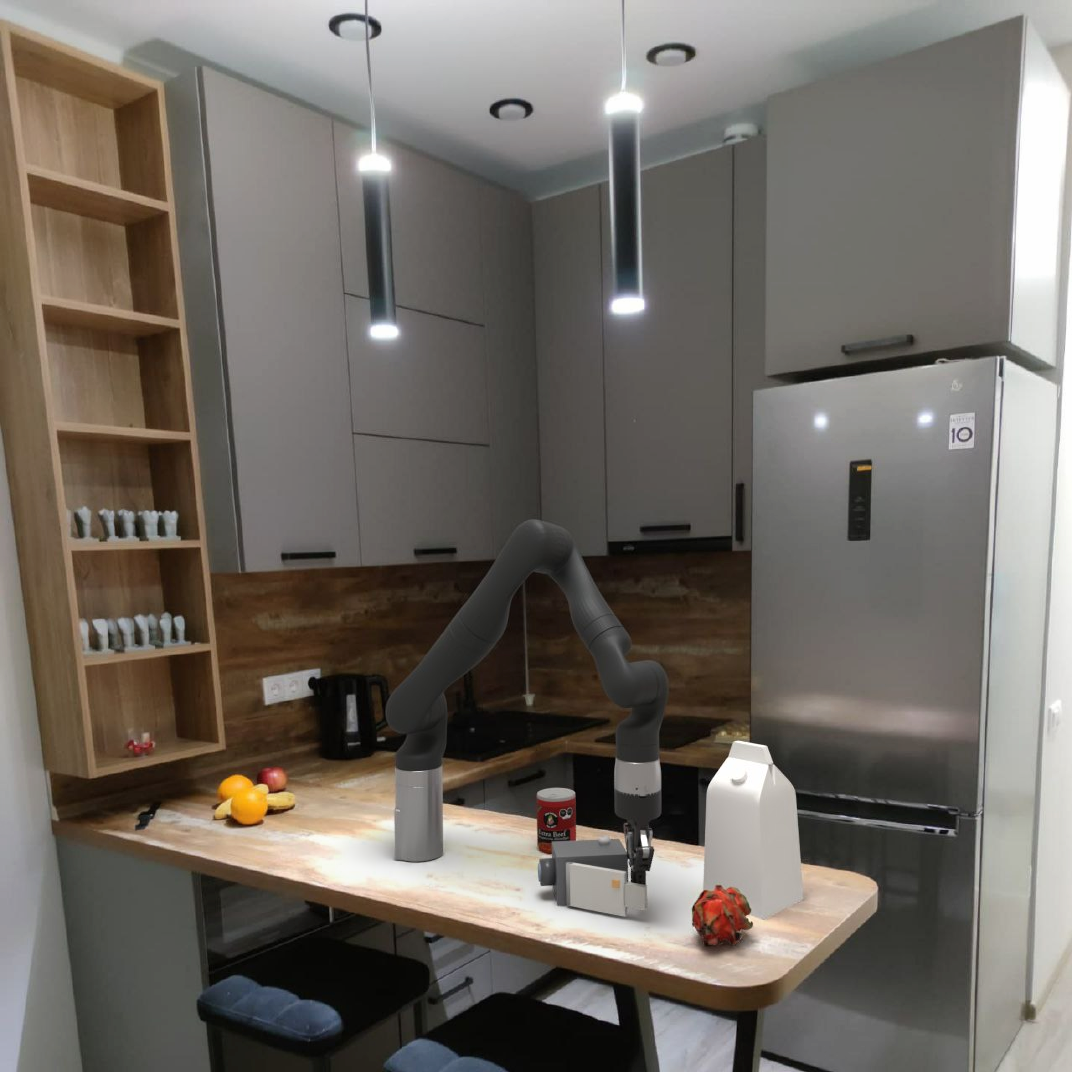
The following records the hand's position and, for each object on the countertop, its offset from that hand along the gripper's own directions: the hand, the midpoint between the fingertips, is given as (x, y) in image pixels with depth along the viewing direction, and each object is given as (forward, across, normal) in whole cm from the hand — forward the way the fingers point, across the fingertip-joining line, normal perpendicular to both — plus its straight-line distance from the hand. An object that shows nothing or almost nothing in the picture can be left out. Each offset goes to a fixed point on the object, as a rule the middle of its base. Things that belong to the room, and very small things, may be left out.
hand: (638, 892), depth 141 cm
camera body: (+4, -9, -8) cm, 12 cm away
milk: (+4, -4, +20) cm, 21 cm away
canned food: (+5, -33, -10) cm, 35 cm away
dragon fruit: (+4, +11, +10) cm, 16 cm away
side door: (+3, 0, -5) cm, 6 cm away
